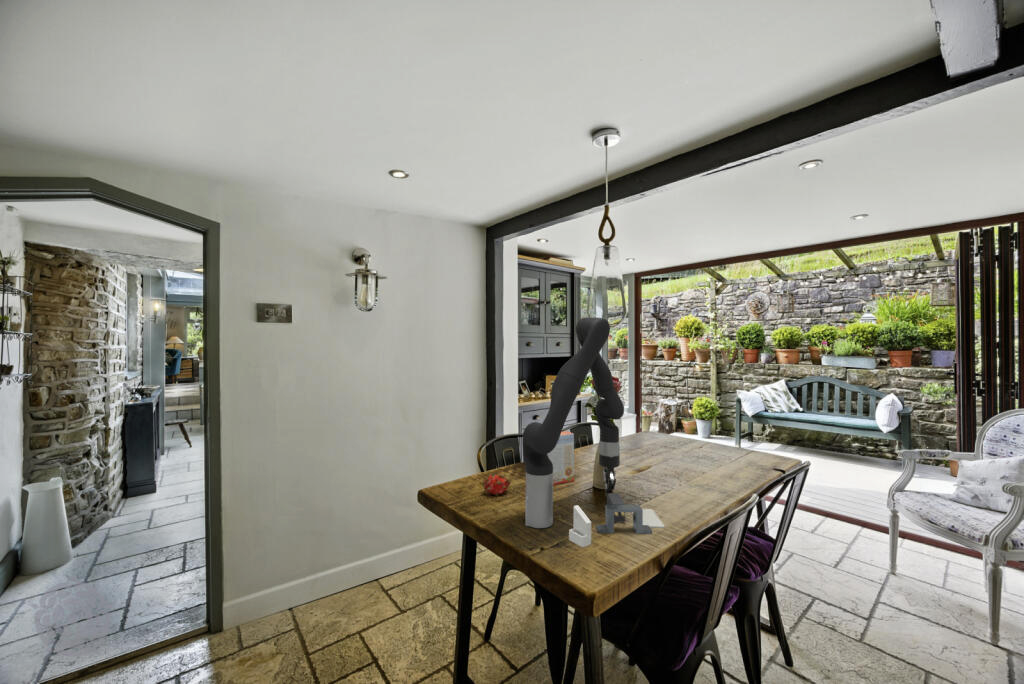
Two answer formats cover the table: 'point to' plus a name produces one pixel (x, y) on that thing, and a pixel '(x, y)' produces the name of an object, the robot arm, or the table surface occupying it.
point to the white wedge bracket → (580, 528)
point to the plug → (616, 500)
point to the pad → (651, 519)
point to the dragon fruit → (496, 484)
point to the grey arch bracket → (636, 510)
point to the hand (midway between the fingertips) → (609, 498)
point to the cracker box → (563, 459)
